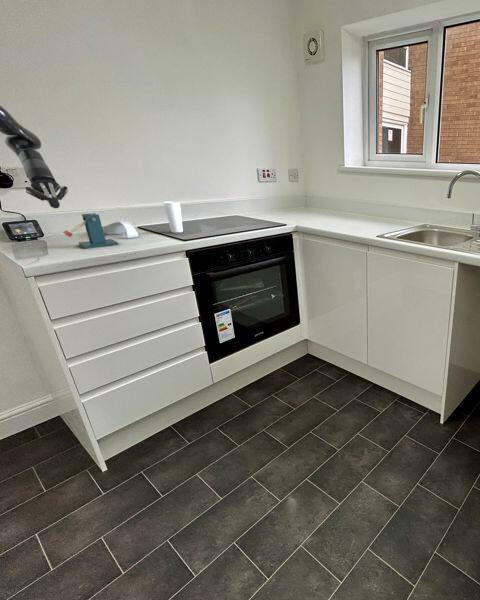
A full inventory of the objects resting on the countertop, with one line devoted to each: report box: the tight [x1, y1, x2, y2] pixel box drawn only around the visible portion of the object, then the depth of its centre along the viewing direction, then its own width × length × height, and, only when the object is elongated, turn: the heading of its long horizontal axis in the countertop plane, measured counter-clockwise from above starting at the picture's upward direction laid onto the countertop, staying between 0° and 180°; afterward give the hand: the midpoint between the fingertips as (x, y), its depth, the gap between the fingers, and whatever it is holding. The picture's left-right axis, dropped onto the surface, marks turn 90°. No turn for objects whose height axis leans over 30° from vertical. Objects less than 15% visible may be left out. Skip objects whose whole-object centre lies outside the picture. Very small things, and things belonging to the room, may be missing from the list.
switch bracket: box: [77, 212, 119, 249], centre depth 147 cm, size 11×9×13 cm
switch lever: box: [62, 213, 93, 238], centre depth 143 cm, size 12×6×2 cm
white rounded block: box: [102, 220, 139, 239], centre depth 167 cm, size 24×12×7 cm, turn 61°
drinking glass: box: [163, 201, 184, 234], centre depth 177 cm, size 7×7×15 cm
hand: (56, 206), depth 140 cm, fingers closed
